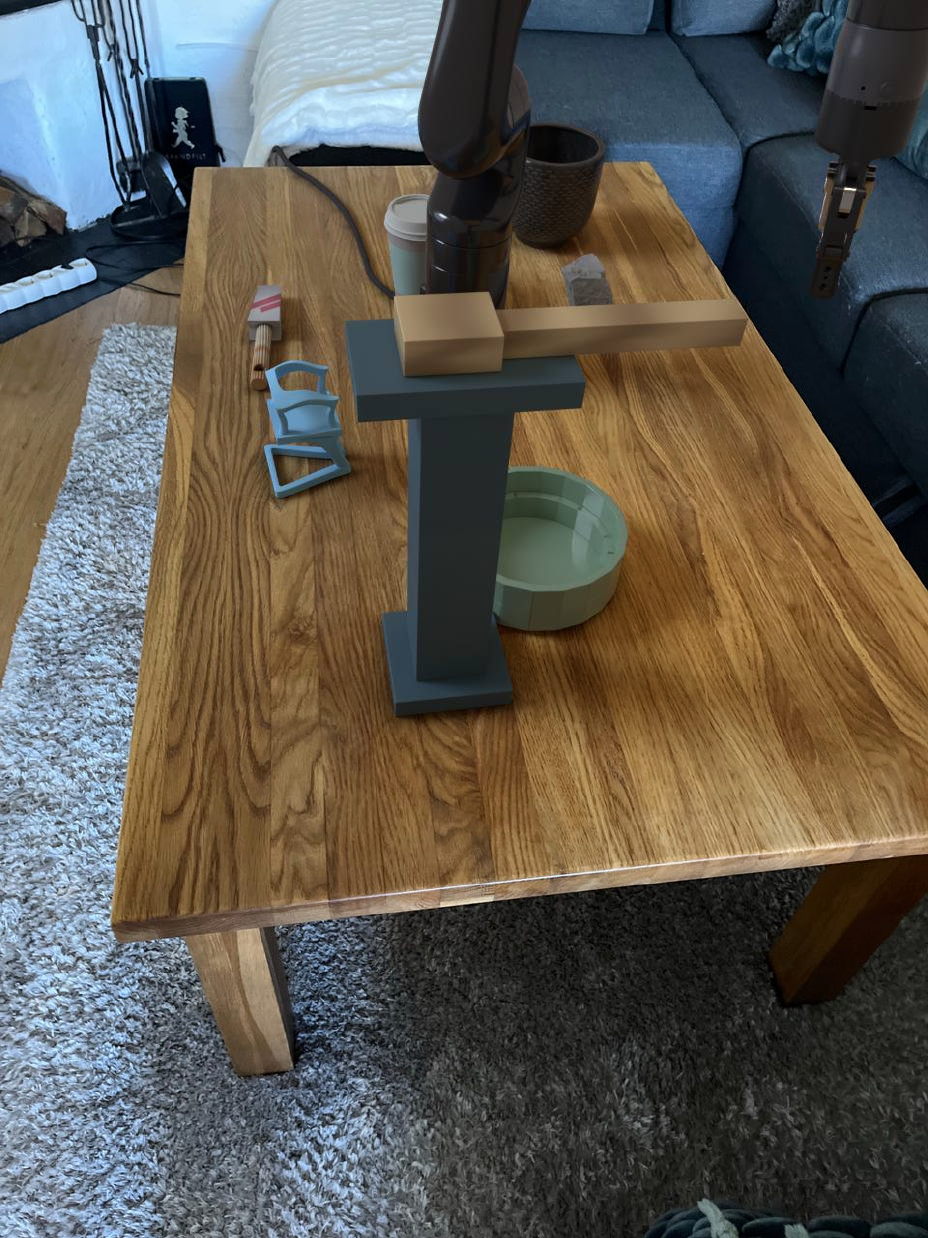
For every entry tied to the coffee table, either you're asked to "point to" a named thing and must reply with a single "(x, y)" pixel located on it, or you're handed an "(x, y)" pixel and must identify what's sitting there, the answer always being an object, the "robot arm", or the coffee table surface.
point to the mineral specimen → (587, 282)
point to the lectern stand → (451, 510)
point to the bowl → (556, 550)
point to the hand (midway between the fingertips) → (823, 276)
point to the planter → (558, 184)
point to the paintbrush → (264, 330)
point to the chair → (304, 426)
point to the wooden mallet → (549, 330)
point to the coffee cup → (407, 242)
